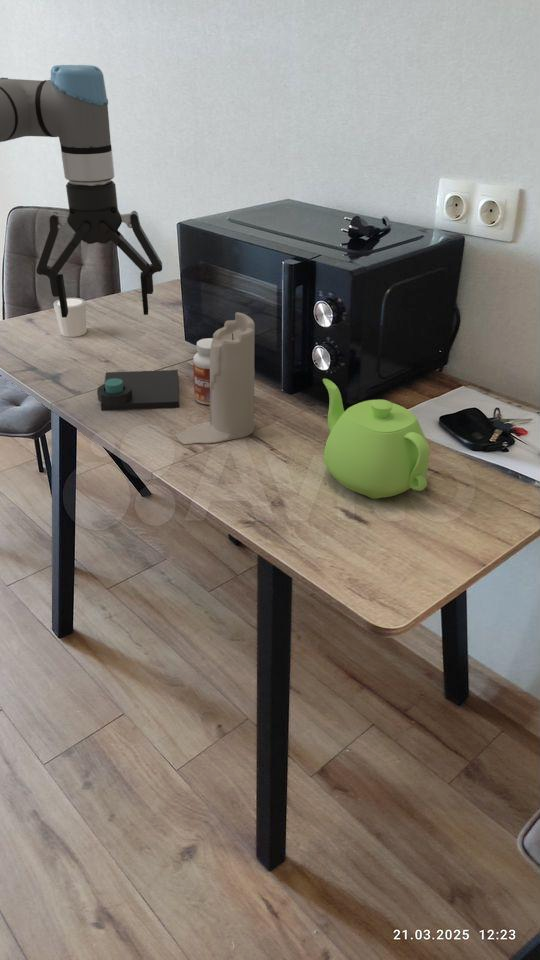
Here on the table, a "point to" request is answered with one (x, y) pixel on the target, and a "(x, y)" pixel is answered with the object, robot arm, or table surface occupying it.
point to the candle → (228, 385)
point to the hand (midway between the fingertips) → (105, 313)
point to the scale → (141, 390)
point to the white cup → (72, 317)
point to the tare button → (114, 386)
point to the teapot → (375, 447)
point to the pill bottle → (202, 371)
